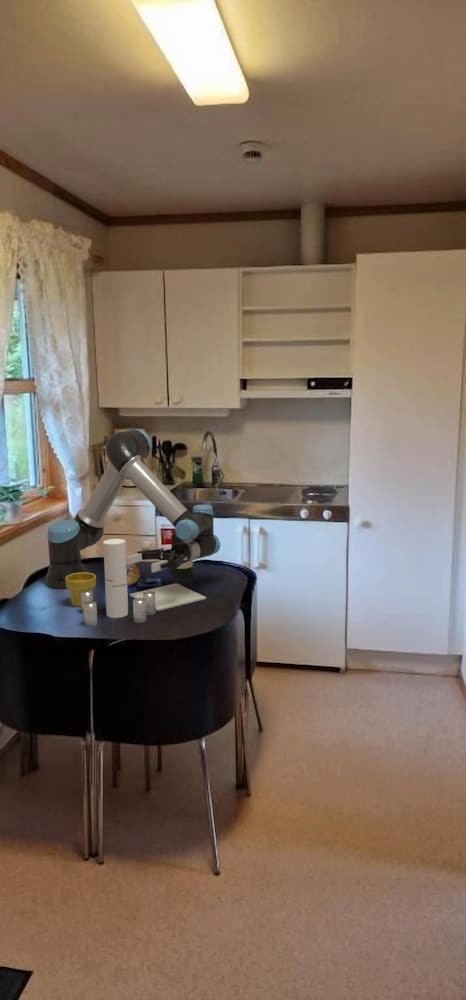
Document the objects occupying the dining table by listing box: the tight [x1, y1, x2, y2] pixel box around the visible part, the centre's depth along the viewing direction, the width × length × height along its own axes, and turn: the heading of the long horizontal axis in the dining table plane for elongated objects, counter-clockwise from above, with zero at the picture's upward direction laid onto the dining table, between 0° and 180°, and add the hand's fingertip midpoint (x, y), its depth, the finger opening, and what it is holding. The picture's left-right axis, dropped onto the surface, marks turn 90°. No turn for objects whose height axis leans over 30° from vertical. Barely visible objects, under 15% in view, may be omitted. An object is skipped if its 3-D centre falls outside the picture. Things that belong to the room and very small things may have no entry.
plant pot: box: [66, 571, 97, 607], centre depth 235 cm, size 10×10×10 cm
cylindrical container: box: [102, 538, 129, 619], centre depth 223 cm, size 7×7×25 cm
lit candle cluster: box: [80, 589, 157, 627], centre depth 223 cm, size 22×24×7 cm
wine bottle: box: [170, 500, 194, 580], centre depth 263 cm, size 8×8×30 cm
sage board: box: [128, 583, 207, 612], centre depth 241 cm, size 20×20×1 cm
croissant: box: [127, 563, 141, 587], centre depth 262 cm, size 21×10×8 cm, turn 13°
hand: (138, 564), depth 229 cm, fingers open, 13 cm apart
